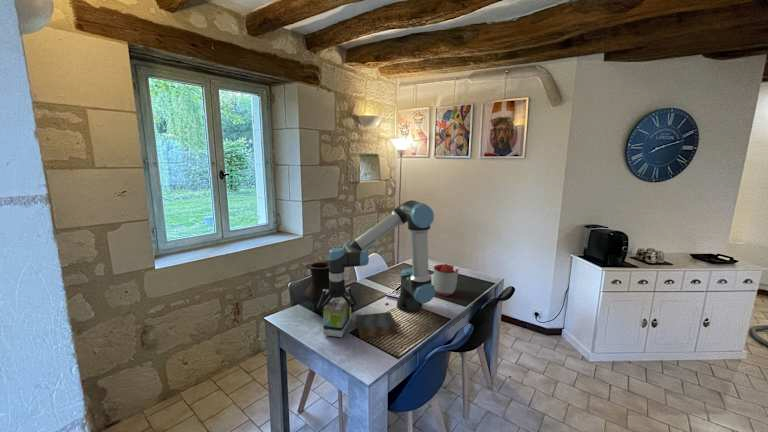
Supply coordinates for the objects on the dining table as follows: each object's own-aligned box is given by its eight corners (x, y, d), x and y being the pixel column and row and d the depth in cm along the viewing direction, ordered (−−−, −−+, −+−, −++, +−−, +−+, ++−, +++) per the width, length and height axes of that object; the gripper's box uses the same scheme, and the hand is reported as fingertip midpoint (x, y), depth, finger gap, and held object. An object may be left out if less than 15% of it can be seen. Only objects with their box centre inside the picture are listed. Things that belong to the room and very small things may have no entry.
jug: (307, 318, 172) (306, 266, 166) (302, 304, 189) (301, 255, 183) (345, 312, 180) (345, 261, 175) (336, 298, 197) (336, 252, 191)
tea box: (342, 337, 154) (342, 309, 151) (322, 335, 156) (322, 307, 153) (350, 321, 169) (350, 295, 166) (332, 320, 170) (332, 294, 167)
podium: (389, 319, 174) (390, 311, 173) (397, 334, 160) (398, 325, 159) (355, 322, 170) (355, 314, 169) (360, 338, 155) (360, 329, 154)
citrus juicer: (463, 296, 206) (465, 266, 202) (439, 299, 200) (441, 269, 197) (450, 286, 221) (452, 258, 217) (428, 289, 215) (429, 261, 211)
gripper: (311, 284, 150) (312, 326, 155) (362, 280, 156) (362, 320, 161) (311, 278, 158) (312, 318, 162) (359, 274, 164) (359, 313, 168)
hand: (337, 319), depth 161 cm, fingers closed on tea box, 12 cm apart
